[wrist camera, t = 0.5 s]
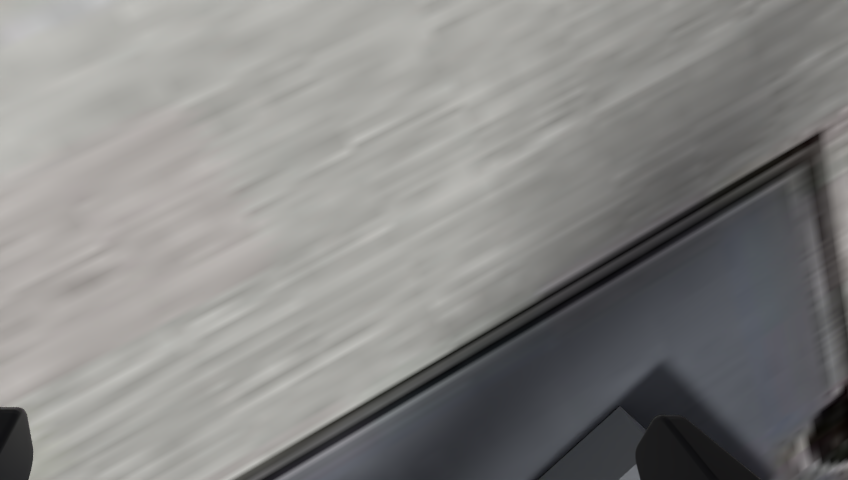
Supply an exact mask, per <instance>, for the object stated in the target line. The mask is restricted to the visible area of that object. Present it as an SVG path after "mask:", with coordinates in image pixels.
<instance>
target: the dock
mask: <svg viewBox="0 0 848 480" xmlns="http://www.w3.org/2000/svg"><path fill="white" fill-rule="evenodd" d="M645 431H646V429H645V428H643V427H642V426H641V425H640V424H639V423H638V422H637V421H636V420H635V419H634V418H633V417H631V416H630V415H629V414H628V413H627V412H626V411H625V410H624V409H623V408H622V407H621V406H619V407H618V408H617V409H616V410H615V411H614V412H613V413H612V414H611V415H609V416H608V417H607V418H606V419H605V420H604V421H603V422H602V423H601V424H599V425H598V426H597V427H596V428H595V429H594V430H593V431H592V432H591V433H590V434H588V435H587V436H586V437H585V438H584V439H583V440H582V441H581V442H580V443H578V444H577V445H576V446H575V447H574V448H573V449H572V450H571V451H570V452H568V453H567V454H566V455H565V456H564V457H563V458H562V459H561V460H560V461H558V462H557V463H556V464H555V465H554V466H553V467H552V468H551V469H550V470H548V471H547V472H546V473H545V474H544V475H543V476H542V477H541V478H540V479H539V480H640V476H639V473H638V469H637V465H636V460H635V451H636V447H637V445H638V443H639V441H640V440H641V438H642V436H643V435H644V433H645Z"/></svg>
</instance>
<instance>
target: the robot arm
mask: <svg viewBox="0 0 848 480" xmlns="http://www.w3.org/2000/svg"><path fill="white" fill-rule="evenodd" d="M635 460H636V465H637V469H638V473H639V476H640V480H761V479H760V478H759V477H757V476H756V475H755V474H754V473H752V472H751V471H750V470H749V469H748V468H746V467H745V466H744V465H743V464H741V463H740V462H739V461H738V460H736V459H735V458H734V457H733V456H732V455H730V454H729V453H728V452H727V451H725V450H724V449H723V448H722V447H721V446H719V445H718V444H717V443H716V442H714V441H713V440H712V439H711V438H709V437H708V436H707V435H706V434H705V433H703V432H702V431H701V430H700V429H698V428H697V427H696V426H695V425H694V424H692V423H691V422H690V421H689V420H687V419H686V418H685V417H683V416H680V415H658V416H656V417H655V418H654V419H653V420H652V421H651V423H650V425H649V426H648V428H647V430H646V431H645V433H644V435H643V436H642V438H641V440H640V441H639V443H638V445H637V447H636V451H635ZM32 462H33V445H32V440H31V434H30V429H29V423H28V418H27V414H26V412H25V410H24V409H22V408H19V407H0V480H28V479H29V475H30V471H31V467H32Z"/></svg>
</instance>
